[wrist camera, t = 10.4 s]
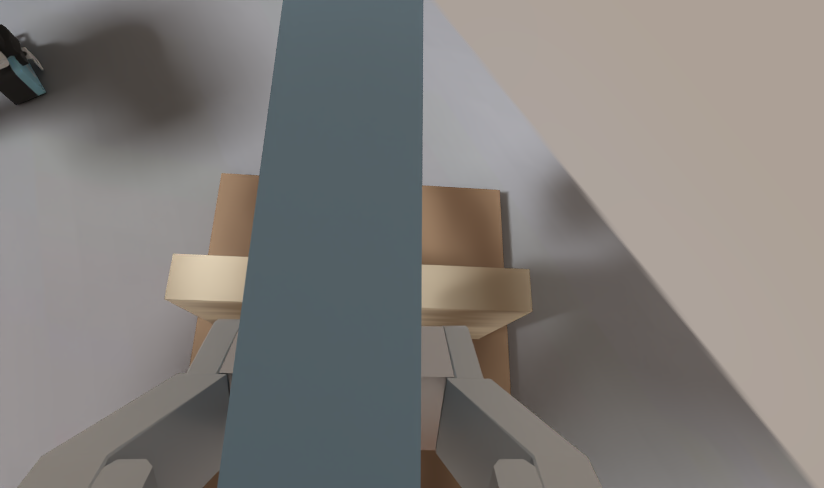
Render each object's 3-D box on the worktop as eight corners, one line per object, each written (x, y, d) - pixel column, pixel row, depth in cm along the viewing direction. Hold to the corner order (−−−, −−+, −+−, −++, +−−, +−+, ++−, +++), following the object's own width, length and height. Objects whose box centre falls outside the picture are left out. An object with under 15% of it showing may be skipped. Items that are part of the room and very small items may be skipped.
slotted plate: (379, 436, 14) (420, 512, 5) (312, 436, 14) (213, 513, 4) (390, 105, 18) (424, -222, 8) (338, 101, 18) (315, -238, 8)
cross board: (175, 490, 26) (56, 548, 16) (225, 179, 33) (164, 78, 23) (510, 488, 28) (597, 539, 18) (495, 195, 35) (553, 109, 25)
